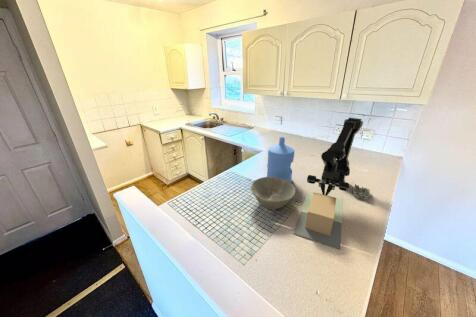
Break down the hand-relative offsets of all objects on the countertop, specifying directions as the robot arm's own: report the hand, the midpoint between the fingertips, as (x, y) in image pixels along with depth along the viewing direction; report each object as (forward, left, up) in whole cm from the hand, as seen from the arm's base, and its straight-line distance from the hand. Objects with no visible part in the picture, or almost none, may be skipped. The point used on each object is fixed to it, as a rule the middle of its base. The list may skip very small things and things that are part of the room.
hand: (323, 199), depth 93 cm
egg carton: (-24, +18, -7) cm, 30 cm away
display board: (+4, 0, -7) cm, 7 cm away
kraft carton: (+8, 0, -6) cm, 10 cm away
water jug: (-20, -28, -7) cm, 35 cm away
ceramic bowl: (+6, -24, -7) cm, 26 cm away
